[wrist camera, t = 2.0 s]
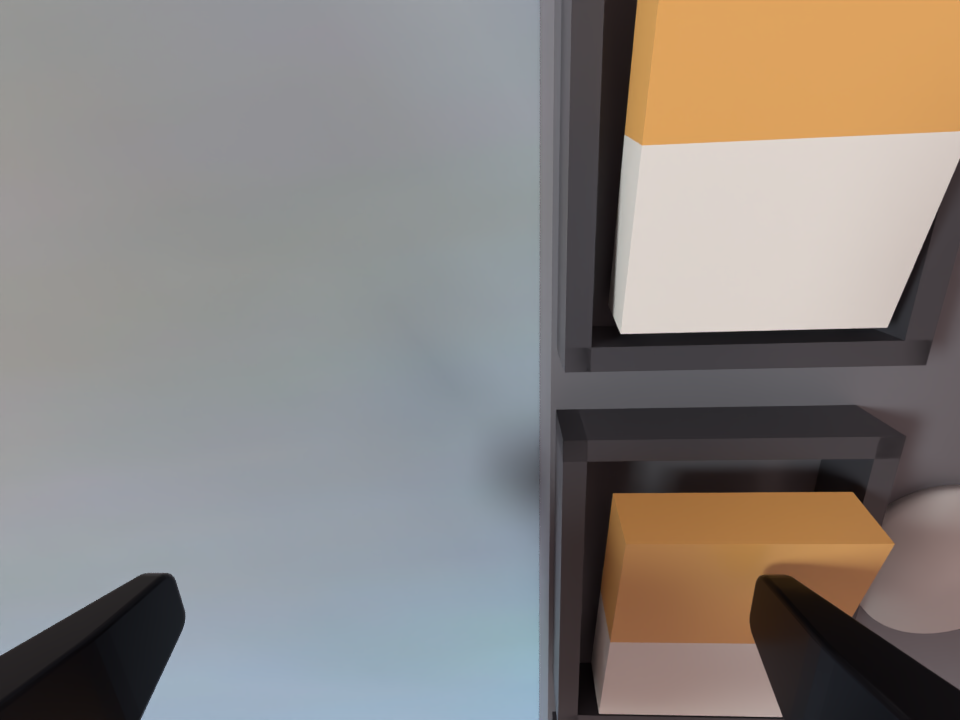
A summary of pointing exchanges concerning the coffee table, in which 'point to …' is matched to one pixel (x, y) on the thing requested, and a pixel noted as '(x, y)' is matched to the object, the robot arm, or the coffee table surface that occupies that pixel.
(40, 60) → the coffee table surface
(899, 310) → the power strip
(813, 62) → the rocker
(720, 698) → the rocker middle
